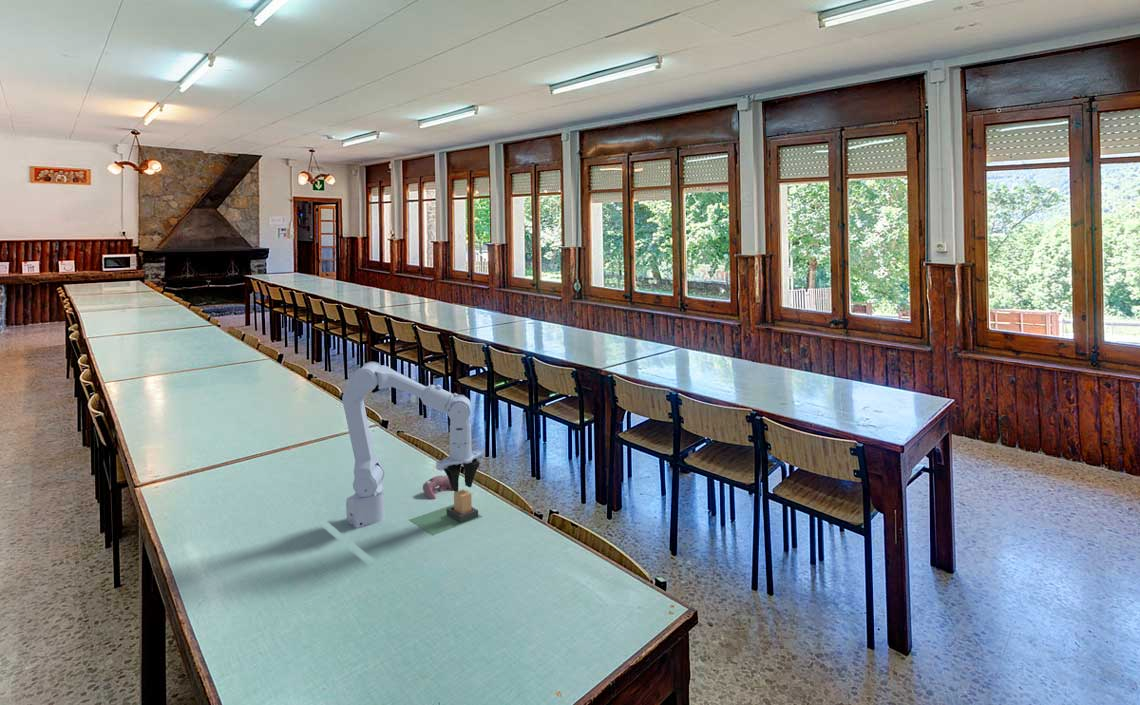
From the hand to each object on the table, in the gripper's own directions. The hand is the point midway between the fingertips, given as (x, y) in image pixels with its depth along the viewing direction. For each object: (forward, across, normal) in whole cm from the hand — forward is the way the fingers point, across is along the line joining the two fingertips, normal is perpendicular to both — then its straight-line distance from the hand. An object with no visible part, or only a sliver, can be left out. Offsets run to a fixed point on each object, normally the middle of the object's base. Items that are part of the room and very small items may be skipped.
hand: (461, 488), depth 168 cm
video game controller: (+10, +4, +18) cm, 21 cm away
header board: (+9, -4, +2) cm, 10 cm away
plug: (+8, 0, 0) cm, 8 cm away
